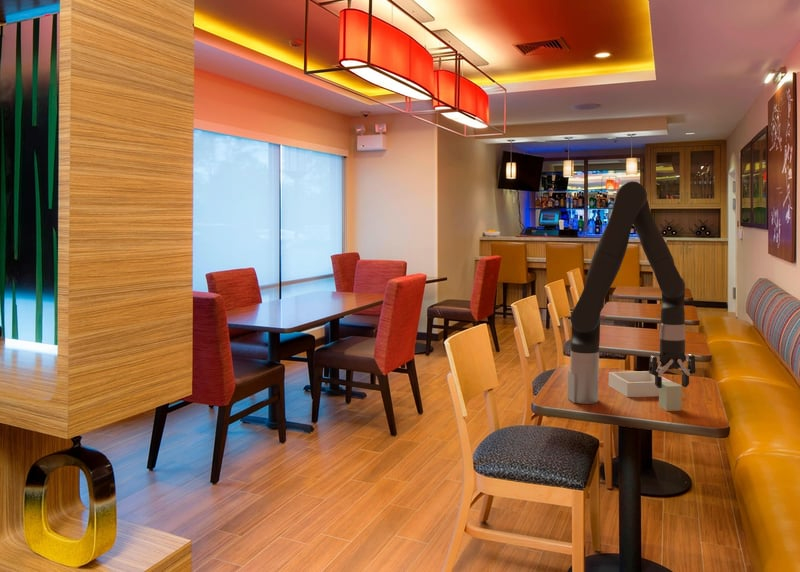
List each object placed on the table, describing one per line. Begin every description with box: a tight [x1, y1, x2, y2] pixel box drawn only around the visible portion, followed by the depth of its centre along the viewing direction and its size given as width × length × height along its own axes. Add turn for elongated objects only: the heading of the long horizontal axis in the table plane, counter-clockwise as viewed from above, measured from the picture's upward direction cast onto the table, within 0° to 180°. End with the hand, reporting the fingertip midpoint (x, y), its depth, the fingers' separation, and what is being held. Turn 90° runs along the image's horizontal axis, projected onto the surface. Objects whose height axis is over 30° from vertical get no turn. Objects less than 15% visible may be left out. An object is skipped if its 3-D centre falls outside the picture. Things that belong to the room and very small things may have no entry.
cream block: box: [658, 381, 683, 412], centre depth 198 cm, size 5×5×8 cm
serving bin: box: [608, 370, 673, 398], centre depth 220 cm, size 16×16×5 cm
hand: (671, 387), depth 198 cm, fingers open, 8 cm apart
